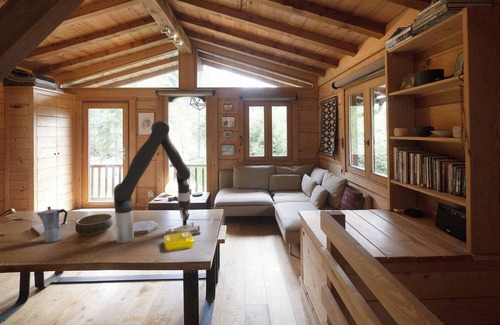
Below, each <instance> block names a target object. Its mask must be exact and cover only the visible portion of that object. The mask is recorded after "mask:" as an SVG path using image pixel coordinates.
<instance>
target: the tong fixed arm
mask: <svg viewBox="0 0 500 325" xmlns="http://www.w3.org/2000/svg"><path fill="white" fill-rule="evenodd" d="M198 230H199V231H200V225H196V226H194V227H189V228H184V229H178V230H174V228H169V229H168V231H169V234H177V233H185V232H192V231H198Z"/></svg>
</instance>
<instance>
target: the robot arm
mask: <svg viewBox="0 0 500 325" xmlns="http://www.w3.org/2000/svg"><path fill="white" fill-rule="evenodd" d="M150 129H151V133H150V135H149V137H148V139H147V140H146V141H145V142H144V143H143V144H142V146H141V147H140V148H139V149H138V150H137V151H136V154H135V155H134V157H133V158H132V160H131V161H130V164H129V167H128V170H127V173H126V175H125V176H124V178H123V180H122V181H121V182H120V183H118V184H117V185H116V186H115V187H114V189H113V202H114V203H113V204H114V214H115V238H116V239H115V240H116V244H125V243H130V242H133V241H134V240H135V232H134V231H135V230H134V229H135V228H134V211H133V208H134V207H133V201H132V200H133V199H132V196H133V194H134V191H135V190H136V187H137V184H138V183H139V181H140V179H141V178H142V177H143V175H144V173H145V172H146V170H148V167H149V165H150V163H151V162H152V160H153V158H154V157H155V155H156V153H157V151H158V148H159V147H160V145H161V146H162V149H163V150H164V152H165V154H166V155H167V157H168V160H169V161H170V163H171V166H172V167H173V168H175V170H176V174H175V175H176V177H175V178H176V181H177V191H178V192H177V206H178V208H180V209H179V213H180V218H181V219H182V226H184V225H187V224H188V222H187V221H188V220H189V217H190V213H189V207H191V193H190V184H189V182H188V180H189V179H190V178H191V171H190V169H189V168H188V166H187V165H186V163H185V162H184V160H183V158H182V156H181V155H180V153H179V152H180V151H179V150H178V149H177V148H176V147H175V145H174V144H173V142H172V141H171V139H170V137H169V133H170V132H169V131H170V126H169V124H168V122H167V121H164V120H158V121H154V122H153V123H152V125H151V127H150Z"/></svg>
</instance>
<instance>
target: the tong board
mask: <svg viewBox="0 0 500 325" xmlns="http://www.w3.org/2000/svg"><path fill="white" fill-rule="evenodd" d="M189 233H191V236H192V237H193V236H199V235H201V231H200V230H198V231H192V232H189ZM168 234H169V230H165V235H168Z"/></svg>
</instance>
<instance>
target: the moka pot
mask: <svg viewBox="0 0 500 325" xmlns="http://www.w3.org/2000/svg"><path fill="white" fill-rule="evenodd" d="M61 213H64V217H63V222H62V223H60V214H61ZM36 215H37V216H38V217H39V219H40V220H41V222H42V226H43V229H44V231H43V232H44V234H43V235H44V239H43V240H44V243H45V244H46V243H54V242H58V241H61V240H62V239H63V235H62V231H61V229H60V225H61V226H64V225H65V224H66V221H67V218H68V211H67V210H65V208H61V209H51V206H47V208H46V210H43V211H39V212H38V213H36Z"/></svg>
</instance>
